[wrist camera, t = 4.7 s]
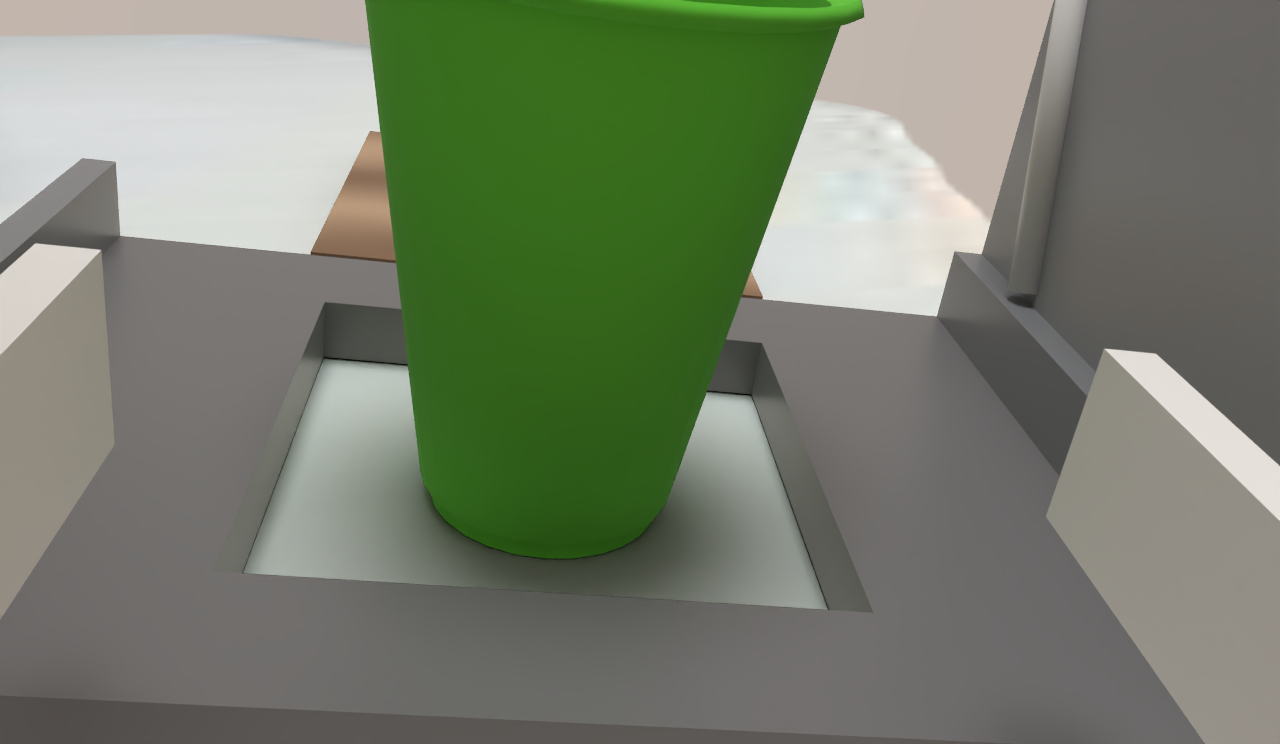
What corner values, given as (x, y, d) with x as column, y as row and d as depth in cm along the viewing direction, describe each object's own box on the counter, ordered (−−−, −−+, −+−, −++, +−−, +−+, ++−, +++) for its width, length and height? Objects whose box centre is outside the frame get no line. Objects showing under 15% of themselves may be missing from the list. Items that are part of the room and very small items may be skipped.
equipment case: (1351, 830, 19) (2071, -451, 11) (-340, 764, 16) (-919, -1113, 8) (989, 369, 34) (1193, -311, 27) (91, 286, 31) (32, -521, 23)
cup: (246, 567, 21) (238, -69, 16) (413, 365, 29) (441, -99, 24) (731, 674, 20) (872, 37, 16) (765, 436, 28) (863, -29, 24)
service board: (756, 327, 35) (762, 296, 34) (310, 284, 33) (311, 251, 32) (700, 193, 46) (705, 169, 46) (369, 156, 44) (370, 131, 44)
